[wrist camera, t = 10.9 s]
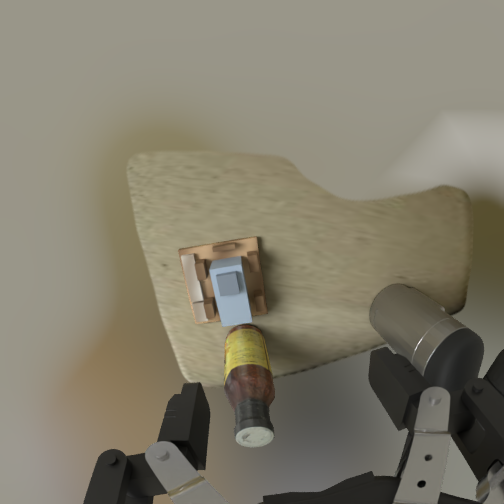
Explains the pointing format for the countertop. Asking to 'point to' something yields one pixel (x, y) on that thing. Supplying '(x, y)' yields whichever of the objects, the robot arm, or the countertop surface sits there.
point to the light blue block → (230, 291)
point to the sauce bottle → (249, 385)
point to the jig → (199, 277)
